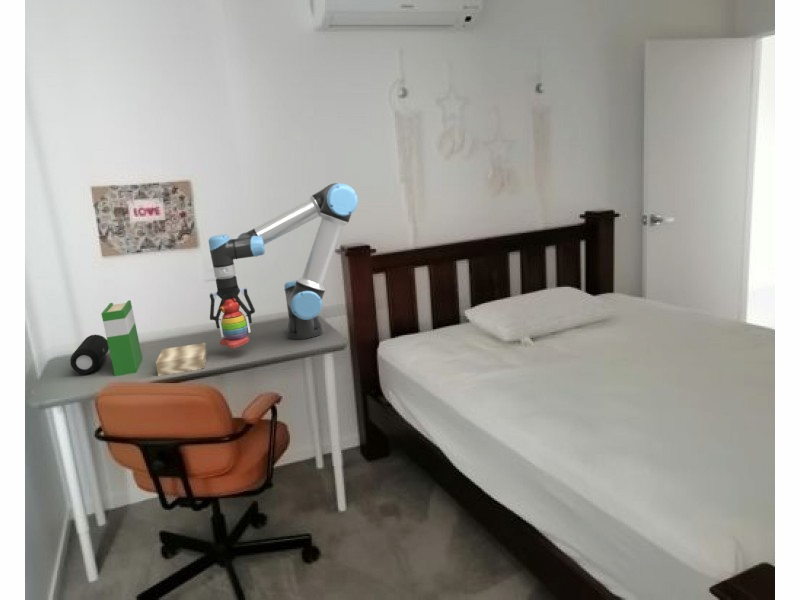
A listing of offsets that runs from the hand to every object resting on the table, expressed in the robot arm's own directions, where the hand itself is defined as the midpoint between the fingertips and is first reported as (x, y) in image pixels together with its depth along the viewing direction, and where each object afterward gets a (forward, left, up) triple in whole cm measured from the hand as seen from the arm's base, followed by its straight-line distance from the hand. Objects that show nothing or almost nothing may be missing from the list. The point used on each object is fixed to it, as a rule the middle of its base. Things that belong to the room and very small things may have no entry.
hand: (236, 333), depth 230 cm
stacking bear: (0, 0, -4) cm, 4 cm away
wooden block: (+20, +2, -9) cm, 22 cm away
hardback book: (+41, -7, -9) cm, 43 cm away
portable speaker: (+57, -17, -9) cm, 60 cm away
